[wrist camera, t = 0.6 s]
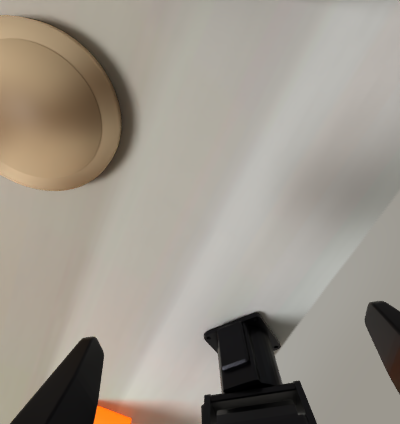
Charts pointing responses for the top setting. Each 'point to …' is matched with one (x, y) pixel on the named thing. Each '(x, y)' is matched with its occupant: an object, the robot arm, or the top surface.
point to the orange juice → (110, 417)
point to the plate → (53, 108)
